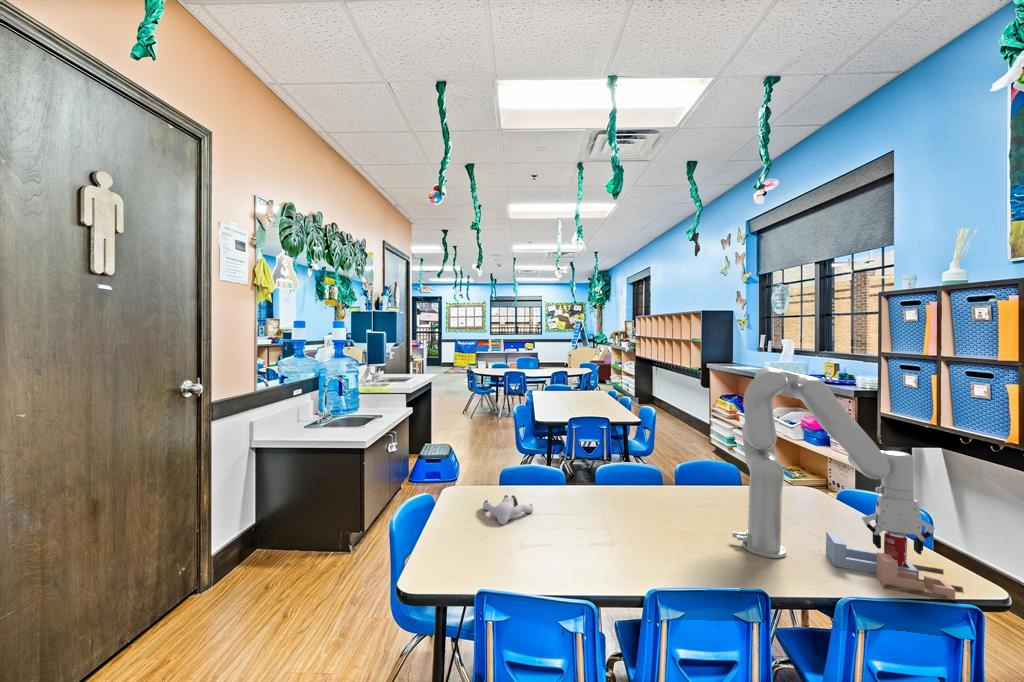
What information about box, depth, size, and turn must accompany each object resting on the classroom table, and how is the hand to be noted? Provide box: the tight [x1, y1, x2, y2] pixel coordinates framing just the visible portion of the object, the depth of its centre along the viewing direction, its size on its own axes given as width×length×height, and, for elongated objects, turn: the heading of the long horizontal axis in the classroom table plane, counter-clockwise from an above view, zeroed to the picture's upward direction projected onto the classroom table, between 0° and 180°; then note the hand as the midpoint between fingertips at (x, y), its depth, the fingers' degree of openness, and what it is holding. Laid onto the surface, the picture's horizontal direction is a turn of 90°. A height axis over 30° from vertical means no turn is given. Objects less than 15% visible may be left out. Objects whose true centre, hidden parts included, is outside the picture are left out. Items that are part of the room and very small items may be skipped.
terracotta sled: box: [875, 552, 926, 591], centre depth 128 cm, size 9×6×7 cm, turn 68°
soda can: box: [883, 531, 908, 567], centre depth 136 cm, size 5×5×12 cm
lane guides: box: [883, 563, 964, 601], centre depth 131 cm, size 20×19×1 cm
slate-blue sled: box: [825, 530, 920, 579], centre depth 138 cm, size 20×9×7 cm, turn 68°
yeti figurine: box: [482, 494, 534, 525], centre depth 172 cm, size 20×7×20 cm
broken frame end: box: [923, 575, 956, 601], centre depth 125 cm, size 4×6×3 cm
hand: (897, 549), depth 136 cm, fingers open, 9 cm apart
